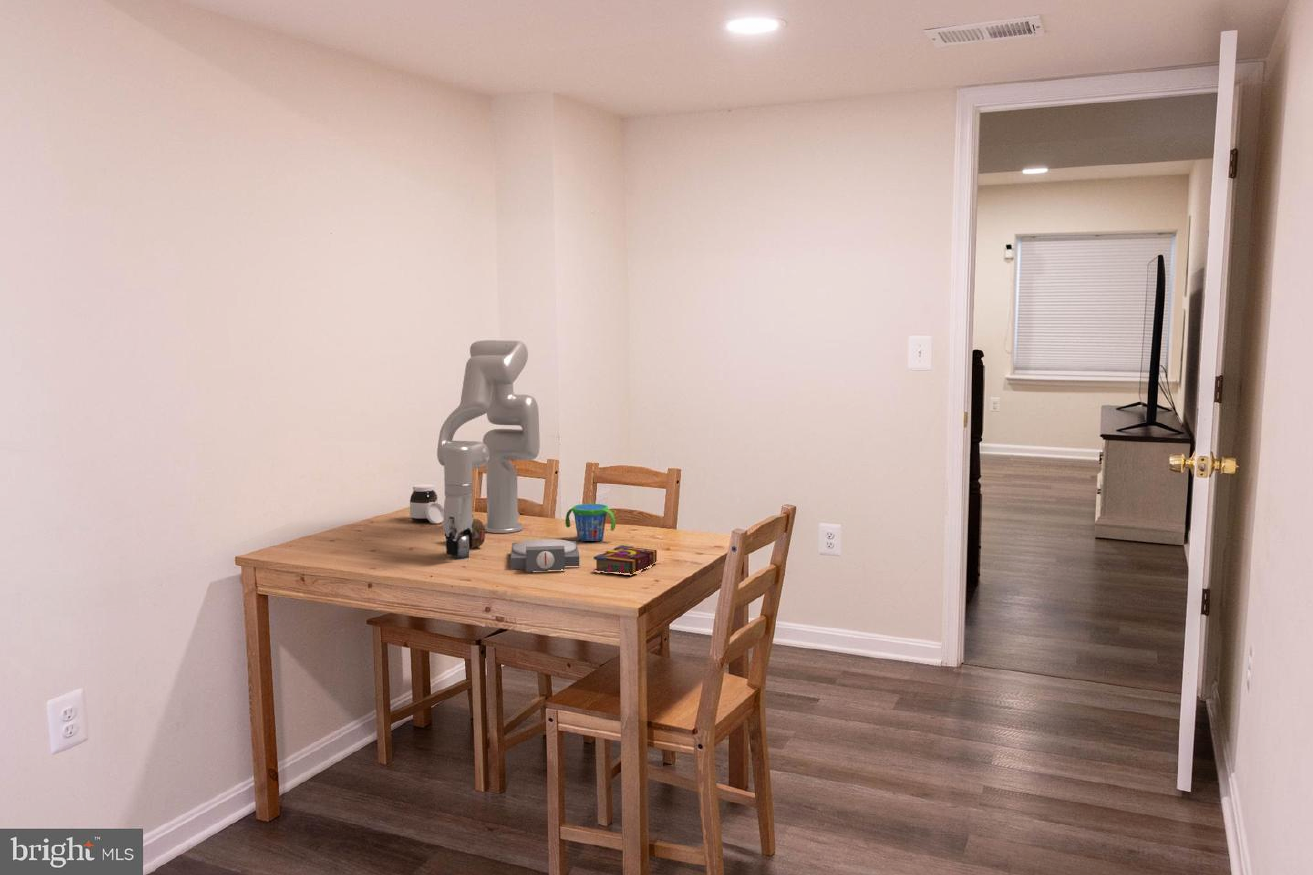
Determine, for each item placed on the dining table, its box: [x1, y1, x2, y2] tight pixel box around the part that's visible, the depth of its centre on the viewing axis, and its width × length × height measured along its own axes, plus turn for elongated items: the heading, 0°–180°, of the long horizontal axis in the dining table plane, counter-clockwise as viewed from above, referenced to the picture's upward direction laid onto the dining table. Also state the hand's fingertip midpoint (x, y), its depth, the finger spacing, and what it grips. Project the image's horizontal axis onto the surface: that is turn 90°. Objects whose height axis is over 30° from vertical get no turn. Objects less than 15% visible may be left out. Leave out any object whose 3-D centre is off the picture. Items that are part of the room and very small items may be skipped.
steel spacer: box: [450, 534, 470, 560], centre depth 273 cm, size 5×5×6 cm
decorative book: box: [593, 544, 658, 574], centre depth 260 cm, size 11×16×5 cm
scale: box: [510, 538, 580, 572], centre depth 267 cm, size 22×18×6 cm
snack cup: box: [564, 503, 617, 542], centre depth 294 cm, size 16×10×10 cm
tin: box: [452, 518, 486, 549], centre depth 287 cm, size 15×3×8 cm, turn 47°
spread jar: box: [409, 483, 444, 525], centre depth 320 cm, size 12×11×12 cm
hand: (459, 550), depth 273 cm, fingers open, 9 cm apart
